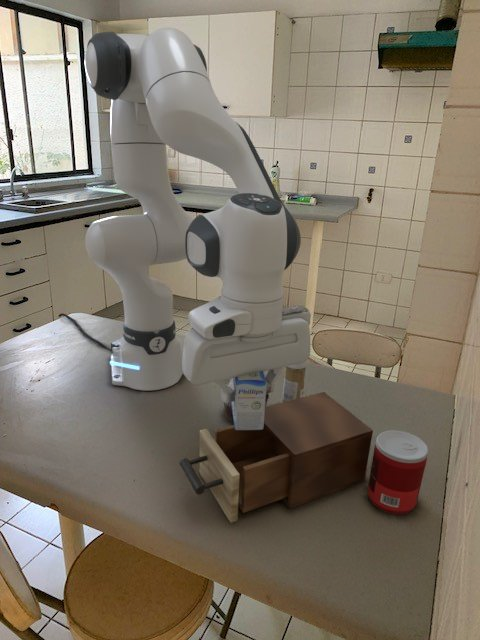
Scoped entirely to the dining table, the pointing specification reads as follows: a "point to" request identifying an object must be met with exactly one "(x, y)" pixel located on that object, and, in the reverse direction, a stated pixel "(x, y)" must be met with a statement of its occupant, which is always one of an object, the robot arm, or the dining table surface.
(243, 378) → the medicine box
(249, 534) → the dining table surface
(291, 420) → the cabinet
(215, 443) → the drawer
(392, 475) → the canned food
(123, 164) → the robot arm
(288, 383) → the sprinkles bottle
